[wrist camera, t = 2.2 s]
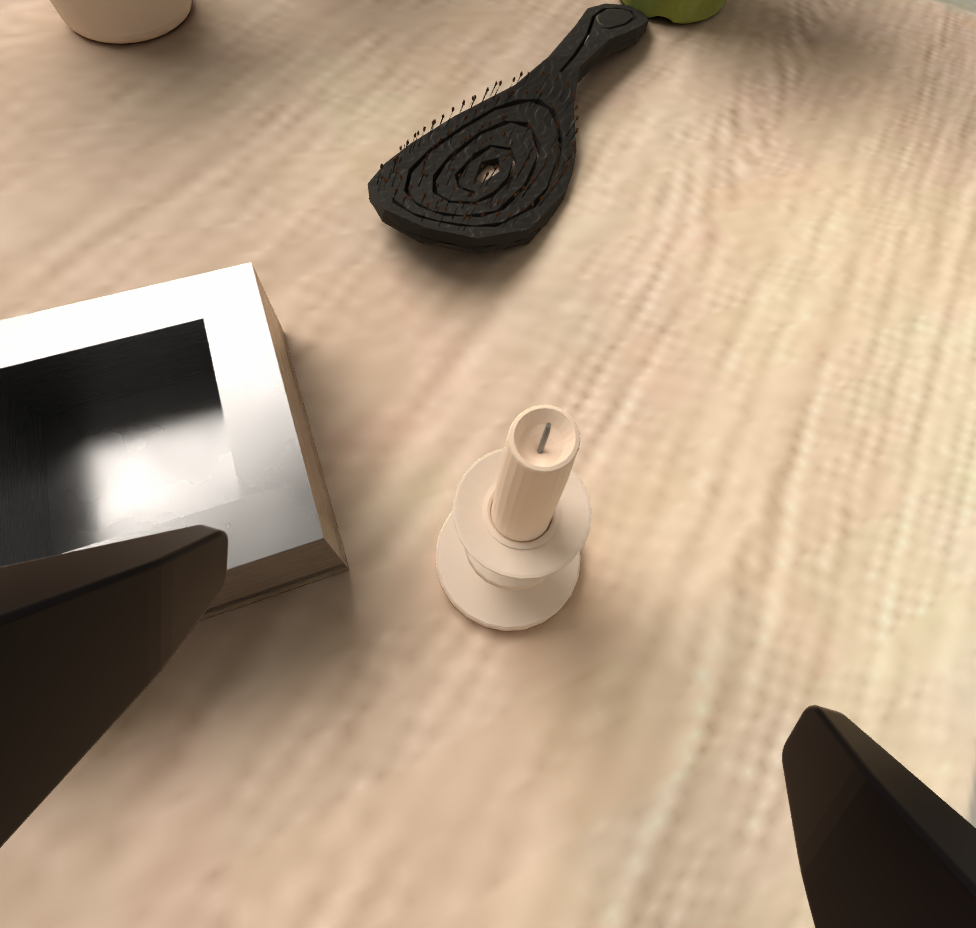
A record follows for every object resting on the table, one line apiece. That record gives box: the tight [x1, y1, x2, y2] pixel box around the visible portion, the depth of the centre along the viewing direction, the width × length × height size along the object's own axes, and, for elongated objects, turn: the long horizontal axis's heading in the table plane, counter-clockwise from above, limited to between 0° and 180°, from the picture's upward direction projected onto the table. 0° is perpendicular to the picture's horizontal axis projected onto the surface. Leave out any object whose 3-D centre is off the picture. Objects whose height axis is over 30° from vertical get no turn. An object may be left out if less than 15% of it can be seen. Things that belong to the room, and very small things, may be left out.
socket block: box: [0, 262, 349, 621], centre depth 19 cm, size 11×11×4 cm
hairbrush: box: [368, 4, 648, 254], centre depth 29 cm, size 8×4×25 cm
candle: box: [436, 405, 592, 631], centre depth 15 cm, size 5×5×10 cm
